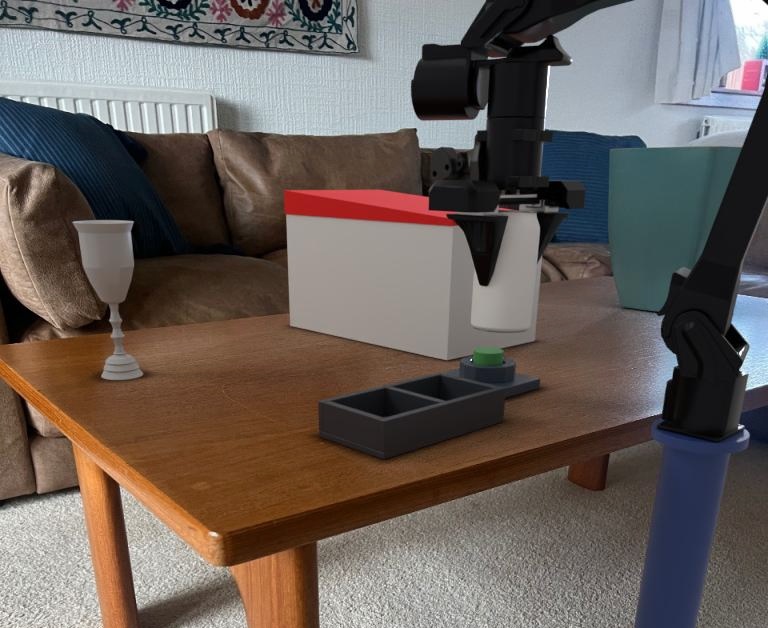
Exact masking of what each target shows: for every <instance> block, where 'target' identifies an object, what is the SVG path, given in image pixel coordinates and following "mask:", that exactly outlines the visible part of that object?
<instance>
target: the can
mask: <svg viewBox="0 0 768 628" xmlns="http://www.w3.org/2000/svg"><path fill="white" fill-rule="evenodd" d="M537 213H538V211H519V209H518V210H517V209H516V210H515V209H511V210H499V212H498V215H503V216H508V220H507V224H506V228H505V232H504V236H503V239H502V243H501V247H500V251H499V255H498V258H497V262H496V266H495V270H494V273H493V276H492V278H491V280H490V283H489V285H488V286H480V285H479V282H478V278H477V274H476V271H475V267H474V281H473V295H472V310H471V325H473V328H474V329H477V330H481V331H487V332H497V333H520V332H525V331H527V329H528V328H530V325H531V317H532V308H533V298H534V288H535V278H536V268H537V258H538V247H539V237H540V225H539V222H538V220H537Z"/></svg>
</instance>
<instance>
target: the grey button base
mask: <svg viewBox="0 0 768 628" xmlns="http://www.w3.org/2000/svg"><path fill="white" fill-rule="evenodd" d="M516 366H517V362H516V361H515V360H513V359H511V358H509V357H503V364H502V365H493V366H487V365H478V364H474V363H473V355H469V356H465V357H462V359H460V361H459V368H455V369H452V370H447V371H442V372H441V373H444V374H449V375H453V376H457V377H461V378H466V379H470V380H474V381H478V382H482V383H487V384H491V385H495V386H499V387H504V388H506V391H505V399H506V398H510V397H513V396H517V395H520V394H524V393H527V392H531V391H535V390H537V389H540V388H541V386H540V385H541V378H539V377H534V376H530V375H526V374H521V373H517V372H516Z"/></svg>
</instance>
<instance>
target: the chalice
mask: <svg viewBox="0 0 768 628" xmlns="http://www.w3.org/2000/svg"><path fill="white" fill-rule="evenodd" d="M134 223H135V221H133V220H122V219H121V220H119V219H91V220H77V221H75V220H74V221H72V225H73V226H74V228H75V229H76V231H77V234H78V240H79V247H80V255H81V256H80V257H81V263H82V268H83V270H84V272H85V275H86V277H87V279H88V281H89V283H90V284H91V286H92V288H93V290H94V291H95V293H96V295H97V296H98V298H99V299H100V301H101V302H103V303H105V304H107V305H108V306H109V309H110V317H109V319H108V322H109V323H110V324H111V326H112V327H111V328H112V333H111V334H110V338H111V339H112V340H113V343H114V351H113V352H112V355H109V356H107V358H106V360H105V361H104V363H105V364H104V365H103V368H102V370H103V371H102V373H101V376H100V377H101V378H102V379H104V380H110V381H125V380H133V379H137V378H140V377H142V376H143V375H144V372H143V371H142V370H141V369H140V365H139V363H137V359H136V358H135V357H134V356H133V355H131V354H127V351H125V349H124V347H123V341H124V338H125V337H126V335H125V334H124V333H123V332H122V329H121V325H122V322H123V319H122V318H121V315H120V313H119V304H121V303H123V302H125V300H126V298H127V295H128V291H129V289H130V285H131V283H132V278H133V273H134V269H135V258H134V249H133V239H132V232H131V231H132V228H133V225H134Z"/></svg>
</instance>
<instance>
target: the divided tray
mask: <svg viewBox="0 0 768 628" xmlns="http://www.w3.org/2000/svg"><path fill="white" fill-rule="evenodd" d="M505 391H506V388H504V387H499V386H495V385H491V384H487V383H482V382H478V381H474V380H470V379H466V378H461V377H457V376H453V375H449V374H444V373H442V372H435V373H431V374H427V375H423V376H418V377H415V378H410V379H405V380H401V381H397V382H392V383H389V384H388V383H387V384H384V385H380V386H376V387H370V388H367V389H363V390H359V391H355V392H351V393H350V392H349V393H346V394H342V395H338V396H333V397H329V398H325V399H319V400H318V402H317V403H318V404H317V405H318V407H317V408H318V409H317V410H318V437H319V438H322V439H325V440H327V441H331V442H334V443H335V444H339V445H342V446H344V447H348V448H350V449H352V450H355V451H359V452H361V453H363V454H367V455H369V456H373V457H376V458H378V459H381V460H387V459H391V458H393V457H398V456H400V455H403V454H406V453H409V452H412V451H415V450H418V449H422V448H424V447H429V446H431V445H434V444H437V443H440V442H444V441H447V440H450V439H453V438H456V437H459V436H462V435H466V434H468V433H472V432H475V431H478V430H481V429H485V428H487V427H490V426H495V425H497V424H500V423H503V422H504V415H505V402H506V398H505Z"/></svg>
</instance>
